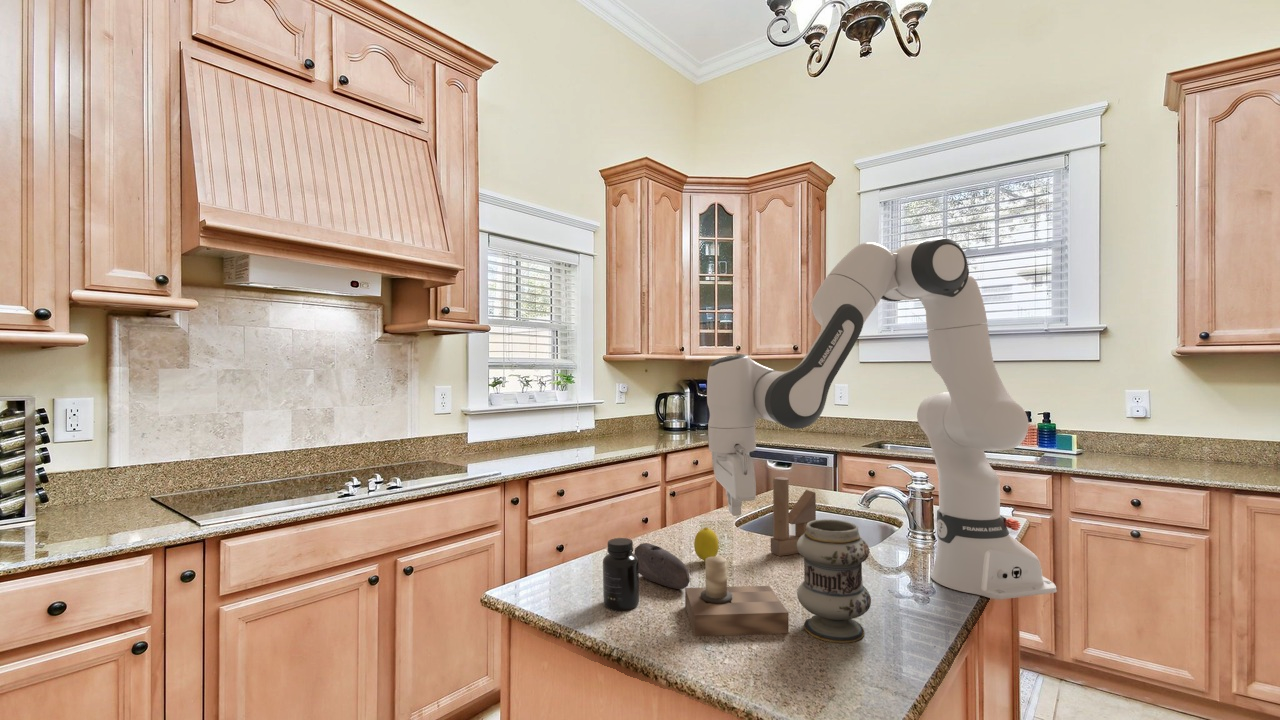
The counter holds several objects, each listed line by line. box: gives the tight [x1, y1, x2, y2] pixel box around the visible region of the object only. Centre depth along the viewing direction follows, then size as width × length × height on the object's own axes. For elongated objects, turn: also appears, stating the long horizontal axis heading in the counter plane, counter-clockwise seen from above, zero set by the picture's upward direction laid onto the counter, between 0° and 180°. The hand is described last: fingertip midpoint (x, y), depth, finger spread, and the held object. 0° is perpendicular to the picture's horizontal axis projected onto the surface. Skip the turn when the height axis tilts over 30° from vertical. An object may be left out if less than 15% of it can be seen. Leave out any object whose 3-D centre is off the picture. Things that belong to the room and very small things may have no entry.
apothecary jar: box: [796, 518, 872, 644], centre depth 102 cm, size 12×12×18 cm
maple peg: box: [701, 556, 732, 604], centre depth 108 cm, size 6×6×10 cm
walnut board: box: [684, 585, 790, 637], centre depth 107 cm, size 16×12×4 cm
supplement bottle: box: [602, 537, 640, 612], centre depth 114 cm, size 7×7×12 cm
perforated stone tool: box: [633, 542, 691, 590], centre depth 124 cm, size 15×5×7 cm, turn 38°
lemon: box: [693, 527, 720, 562], centre depth 137 cm, size 6×6×8 cm
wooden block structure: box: [770, 476, 817, 557], centre depth 144 cm, size 4×11×18 cm, turn 112°
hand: (734, 513), depth 113 cm, fingers closed
